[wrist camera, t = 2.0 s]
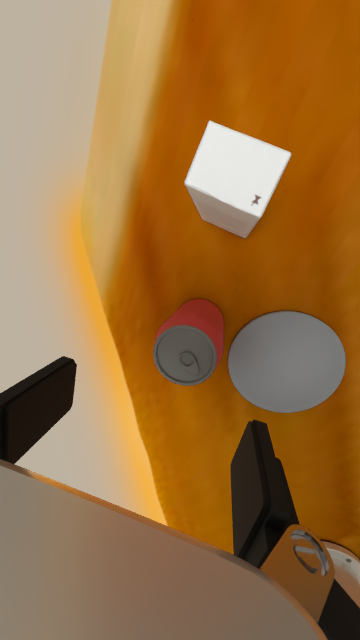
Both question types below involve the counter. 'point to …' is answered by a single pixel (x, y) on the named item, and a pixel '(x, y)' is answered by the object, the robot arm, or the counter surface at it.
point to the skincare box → (234, 178)
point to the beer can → (190, 343)
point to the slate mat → (286, 361)
